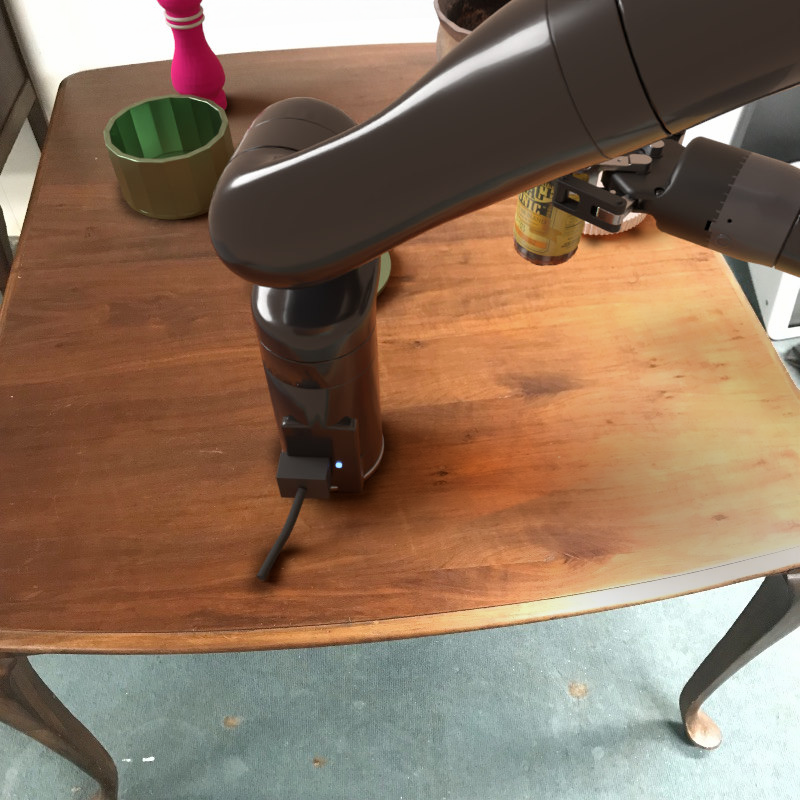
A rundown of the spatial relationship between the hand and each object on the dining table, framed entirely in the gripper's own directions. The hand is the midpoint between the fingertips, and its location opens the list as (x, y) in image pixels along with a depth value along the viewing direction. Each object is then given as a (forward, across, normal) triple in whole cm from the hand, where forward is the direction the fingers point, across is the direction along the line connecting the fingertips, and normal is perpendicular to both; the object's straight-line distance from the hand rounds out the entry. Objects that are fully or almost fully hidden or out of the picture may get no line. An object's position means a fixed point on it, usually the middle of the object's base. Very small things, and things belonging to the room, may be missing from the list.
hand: (537, 136), depth 65 cm
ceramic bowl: (+21, -38, +22) cm, 48 cm away
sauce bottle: (-2, 0, +11) cm, 11 cm away
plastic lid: (+2, -23, +22) cm, 32 cm away
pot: (+47, +1, +22) cm, 52 cm away
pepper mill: (+57, -14, +22) cm, 63 cm away
